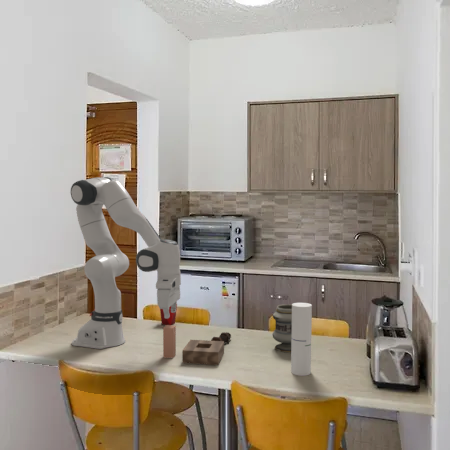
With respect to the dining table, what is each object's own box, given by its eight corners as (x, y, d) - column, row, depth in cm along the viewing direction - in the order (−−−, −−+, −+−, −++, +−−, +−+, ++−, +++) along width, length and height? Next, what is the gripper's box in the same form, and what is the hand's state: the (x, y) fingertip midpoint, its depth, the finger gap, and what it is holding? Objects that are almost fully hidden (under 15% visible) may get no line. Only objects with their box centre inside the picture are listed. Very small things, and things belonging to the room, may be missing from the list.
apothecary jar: (266, 348, 208) (266, 306, 207) (283, 342, 217) (284, 301, 215) (290, 355, 200) (290, 311, 198) (306, 348, 208) (307, 306, 207)
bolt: (229, 344, 220) (217, 353, 206) (220, 337, 222) (207, 345, 208) (235, 333, 219) (223, 341, 205) (226, 326, 220) (214, 334, 206)
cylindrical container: (289, 368, 184) (290, 302, 182) (307, 368, 184) (309, 302, 183) (293, 375, 177) (294, 307, 175) (312, 375, 177) (314, 306, 176)
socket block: (182, 363, 189) (182, 350, 189) (190, 351, 203) (190, 339, 203) (218, 365, 187) (218, 352, 187) (224, 353, 201) (224, 341, 201)
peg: (163, 357, 196) (163, 327, 195) (166, 354, 200) (166, 325, 199) (173, 358, 195) (173, 328, 194) (175, 354, 199) (175, 325, 198)
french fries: (165, 321, 250) (165, 292, 249) (180, 323, 247) (180, 293, 246) (156, 325, 242) (156, 295, 241) (171, 327, 239) (171, 297, 238)
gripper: (168, 276, 206) (169, 309, 207) (154, 285, 186) (155, 321, 187) (183, 276, 205) (184, 309, 206) (170, 285, 185) (171, 321, 186)
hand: (170, 315), depth 196 cm, fingers open, 8 cm apart
